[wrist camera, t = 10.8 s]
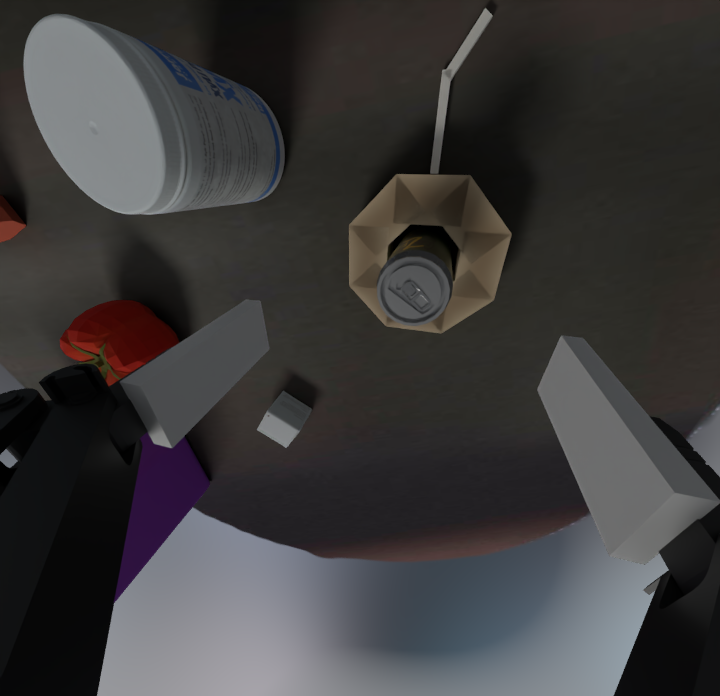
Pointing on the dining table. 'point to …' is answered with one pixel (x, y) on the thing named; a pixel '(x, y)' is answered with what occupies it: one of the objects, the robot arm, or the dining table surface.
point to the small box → (284, 419)
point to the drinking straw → (445, 84)
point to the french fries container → (9, 221)
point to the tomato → (117, 338)
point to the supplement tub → (147, 122)
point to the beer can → (417, 278)
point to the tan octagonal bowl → (439, 208)
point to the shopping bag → (159, 502)
